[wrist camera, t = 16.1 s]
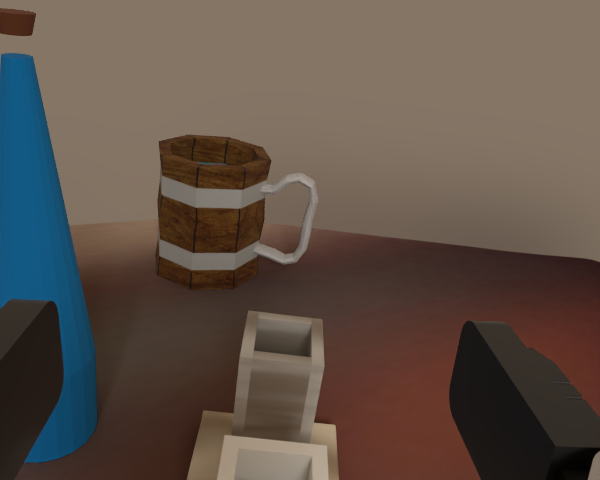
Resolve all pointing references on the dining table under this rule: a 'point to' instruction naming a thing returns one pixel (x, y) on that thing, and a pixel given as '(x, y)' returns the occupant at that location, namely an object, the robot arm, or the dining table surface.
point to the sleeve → (271, 460)
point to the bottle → (42, 243)
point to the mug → (218, 211)
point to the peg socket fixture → (271, 392)
